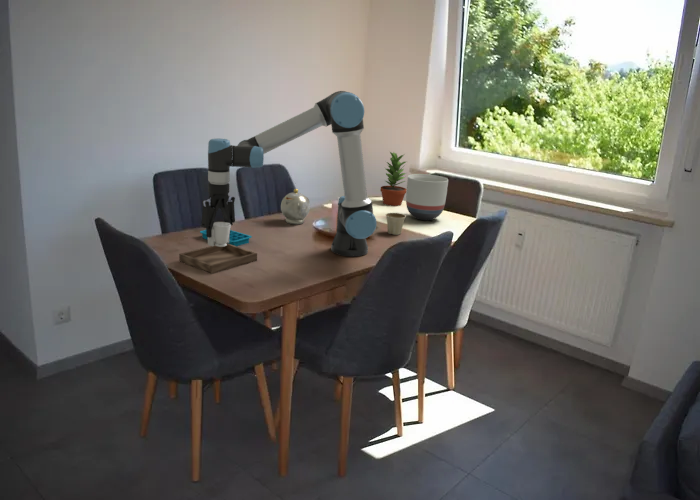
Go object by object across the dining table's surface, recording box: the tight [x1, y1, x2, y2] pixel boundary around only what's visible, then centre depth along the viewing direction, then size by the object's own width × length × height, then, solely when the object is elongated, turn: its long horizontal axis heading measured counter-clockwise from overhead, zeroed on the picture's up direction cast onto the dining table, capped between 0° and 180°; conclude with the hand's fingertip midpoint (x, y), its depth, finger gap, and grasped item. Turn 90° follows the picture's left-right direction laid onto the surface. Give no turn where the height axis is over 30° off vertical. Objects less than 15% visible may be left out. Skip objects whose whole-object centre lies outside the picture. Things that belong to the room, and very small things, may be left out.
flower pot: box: [385, 212, 407, 236], centre depth 276 cm, size 9×9×9 cm
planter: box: [405, 173, 449, 221], centre depth 304 cm, size 20×20×21 cm
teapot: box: [280, 188, 311, 226], centre depth 283 cm, size 18×14×16 cm
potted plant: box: [380, 150, 407, 207], centre depth 332 cm, size 15×15×30 cm
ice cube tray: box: [199, 229, 253, 247], centre depth 250 cm, size 12×20×3 cm, turn 55°
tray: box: [178, 243, 258, 275], centre depth 223 cm, size 18×22×3 cm
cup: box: [212, 221, 232, 247], centre depth 221 cm, size 7×10×8 cm
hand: (218, 243), depth 222 cm, fingers closed on cup, 6 cm apart
